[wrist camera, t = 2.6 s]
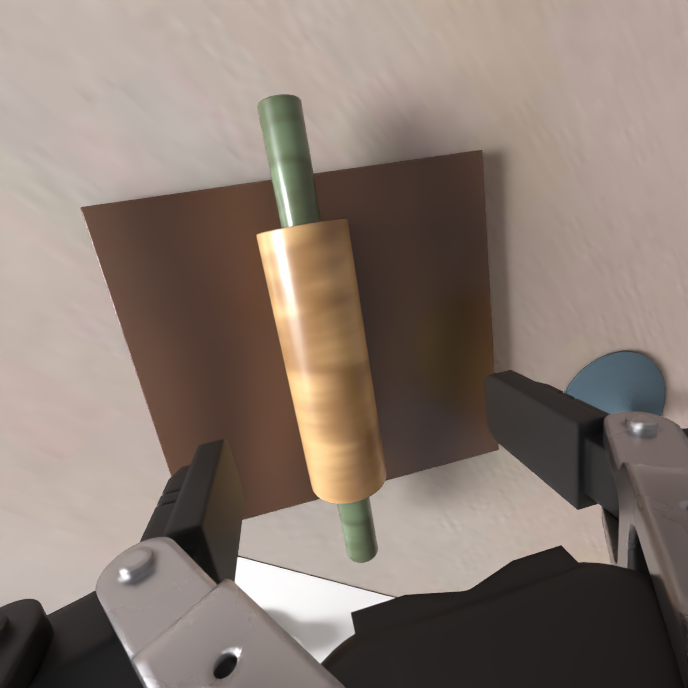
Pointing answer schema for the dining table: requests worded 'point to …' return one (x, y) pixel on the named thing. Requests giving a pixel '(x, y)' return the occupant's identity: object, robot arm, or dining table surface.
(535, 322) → the dining table surface
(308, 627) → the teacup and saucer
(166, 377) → the pastry board
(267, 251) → the rolling pin
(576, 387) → the cocktail glass
